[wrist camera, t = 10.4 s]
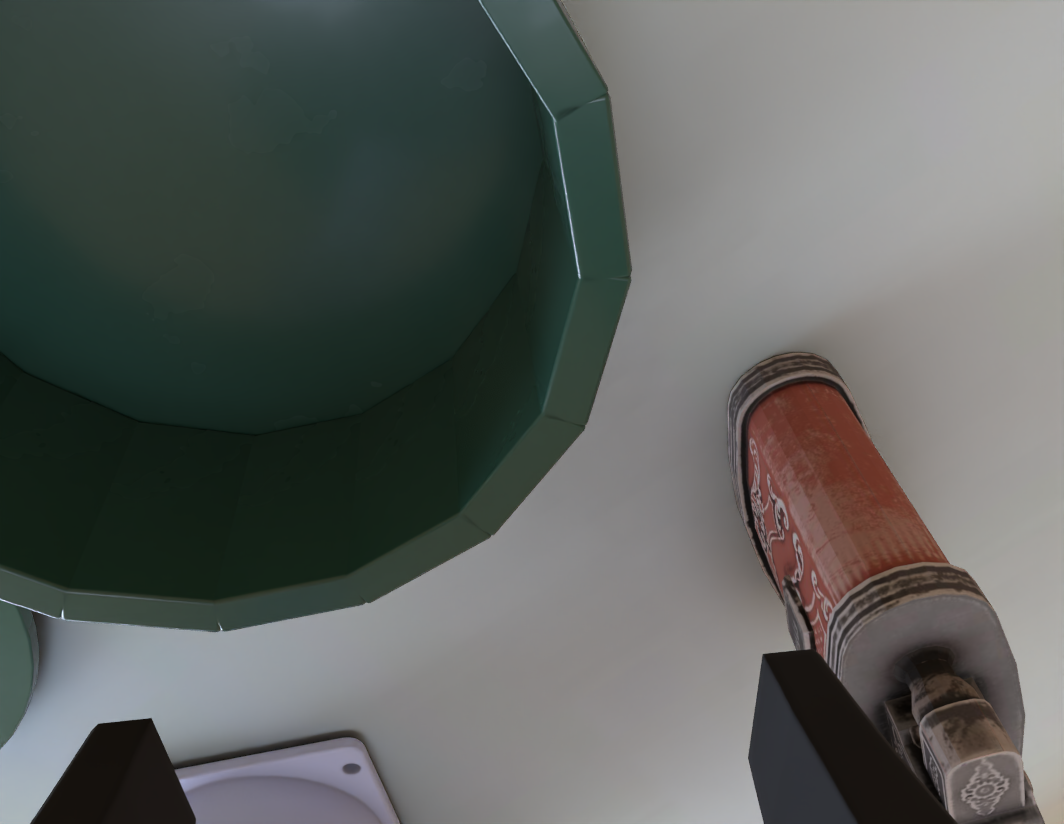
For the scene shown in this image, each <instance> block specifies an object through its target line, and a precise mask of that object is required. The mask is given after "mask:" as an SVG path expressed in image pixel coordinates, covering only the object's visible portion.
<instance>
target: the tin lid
mask: <svg viewBox="0 0 1064 824" xmlns="http://www.w3.org/2000/svg"><path fill="white" fill-rule="evenodd" d="M39 655H40V653H39V645H38V637H37V629H36V624H35V621H34V618H33V615H32V612H31V610H29V609H26V608H23V607H20V606H17V605H14V604H11V603H8V602H5V601H2V600H0V749H1V748H2V747H3V746H4V745H5V744H6V742H7V741H8V740H9V739H10V738H11V737H12V736H13V734H14V733H15V731H16V729H17V727H18V726H19V724H20V722H21V720H22V719H23V717H24V715H25V713H26V711H27V708H28V706H29V703H30V701H31V698H32V694H33V691H34V688H35V685H36V682H37V678H38V666H39Z"/></svg>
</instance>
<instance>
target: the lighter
mask: <svg viewBox="0 0 1064 824" xmlns="http://www.w3.org/2000/svg"><path fill="white" fill-rule="evenodd" d="M728 455H729V463H730V468H731V474H732V480H733V485H734V491H735V497H736V502H737V506H738V509H739V512H740V514H741V517H742V519H743V522H744V525H745V527H746V530H747V532H748V535H749V537H750V540H751V543H752V545H753V548H754V550H755V553H756V555H757V558H758V560H759V562H760V565H761V567H762V570H763V572H764V573H765V575H766V577H767V578H768V580H769V582H770V583H771V585H772V587H773V588H774V590H775V592H776V593H777V595H778V597H779V598H780V600H781V602H782V603H783V605H784V606H785V608H786V615H787V622H788V629H789V632H790V635H791V638H792V640H793V643H794V645H795V648H796V651H797V650H807V649H814V650H815V651H816V652H818V653H819V654H820V655H821V656H822V657H823V659H824V660H825V661H826V663H827V664H828V665H829V667H830V668H831V669H832V671H833V672H834V673H835V675H836V676H837V677H838V679H839V680H840V681H841V683H842V684H843V685H844V687H845V688H846V689H847V691H848V692H849V693H850V694H851V696H852V697H853V698H854V700H855V701H856V702H857V704H858V705H859V706H860V707H861V709H862V710H863V711H864V712H865V714H866V715H867V716H868V718H869V719H870V720H871V721H872V723H873V724H874V725H875V726H876V728H877V729H878V730H879V731H880V732H881V734H882V735H883V736H884V737H885V739H886V740H887V741H888V742H889V744H890V745H891V746H892V747H893V749H894V750H895V751H896V752H897V753H898V755H899V756H900V757H901V758H902V759H903V761H904V762H905V763H906V764H907V765H908V767H909V768H910V769H911V770H912V771H913V772H914V774H915V775H916V776H917V777H918V778H919V779H920V781H921V782H922V783H923V784H924V785H925V786H926V787H927V789H928V790H929V791H930V792H931V793H932V794H933V795H934V797H935V798H936V799H937V800H938V801H939V802H940V803H941V805H942V806H943V807H944V808H945V809H946V810H947V811H948V813H949V814H950V815H951V816H952V817H953V818H954V819H955V821H956V822H957V823H958V824H1045V823H1044V820H1043V818H1042V815H1041V813H1040V811H1039V809H1038V806H1037V804H1036V801H1035V798H1034V795H1033V788H1032V785H1031V782H1030V780H1029V778H1028V776H1027V774H1026V772H1025V771H1024V769H1023V761H1022V748H1023V735H1024V723H1025V712H1024V706H1023V700H1022V694H1021V688H1020V682H1019V676H1018V670H1017V664H1016V662H1015V659H1014V657H1013V654H1012V651H1011V649H1010V646H1009V644H1008V641H1007V639H1006V636H1005V634H1004V631H1003V629H1002V626H1001V624H1000V621H999V619H998V616H997V614H996V612H995V611H994V609H993V608H992V606H991V604H990V603H989V601H988V600H987V598H986V597H985V595H984V594H983V592H982V591H981V589H980V588H979V586H978V585H977V583H976V582H975V580H974V579H973V578H972V577H971V576H970V575H969V574H968V572H967V571H966V570H964V569H962V568H959V567H956V566H954V565H951V564H950V563H949V562H948V560H947V559H946V557H945V556H944V554H943V552H942V551H941V549H940V548H939V546H938V545H937V543H936V541H935V540H934V538H933V537H932V535H931V534H930V532H929V531H928V529H927V527H926V526H925V524H924V523H923V521H922V520H921V518H920V516H919V515H918V513H917V512H916V510H915V509H914V507H913V506H912V504H911V502H910V501H909V499H908V498H907V496H906V495H905V493H904V492H903V490H902V488H901V487H900V485H899V484H898V482H897V481H896V479H895V477H894V476H893V474H892V473H891V471H890V470H889V468H888V467H887V465H886V463H885V462H884V460H883V459H882V457H881V456H880V454H879V452H878V451H877V449H876V448H875V446H874V445H873V443H872V440H871V437H870V434H869V432H868V430H867V428H866V425H865V423H864V421H863V419H862V416H861V414H860V412H859V410H858V407H857V405H856V403H855V401H854V398H853V396H852V394H851V392H850V390H849V389H848V387H847V386H846V384H845V382H844V381H843V379H842V378H841V376H840V375H839V373H838V372H837V370H836V369H835V368H834V367H833V366H832V364H831V363H830V362H829V361H828V360H826V359H824V358H822V357H819V356H817V355H815V354H809V353H790V354H785V355H780V356H775V357H773V358H770V359H768V360H766V361H764V362H762V363H760V364H757V365H756V366H754V367H753V368H752V369H751V370H749V371H748V372H747V373H746V374H744V375H743V376H742V377H741V378H740V379H739V381H738V382H737V384H736V385H735V386H734V388H733V389H732V391H731V393H730V397H729V402H728Z"/></svg>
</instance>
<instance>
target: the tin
mask: <svg viewBox="0 0 1064 824" xmlns="http://www.w3.org/2000/svg"><path fill="white" fill-rule="evenodd" d="M631 272H632V266H631V258H630V250H629V242H628V234H627V226H626V218H625V210H624V202H623V194H622V186H621V178H620V171H619V163H618V155H617V147H616V139H615V131H614V123H613V115H612V107H611V99H610V96H609V94H608V87H607V85H606V83H605V81H604V80H603V78H602V76H601V74H600V72H599V70H598V68H597V67H596V65H595V63H594V61H593V59H592V57H591V55H590V54H589V52H588V50H587V48H586V46H585V44H584V42H583V41H582V39H581V37H580V35H579V33H578V31H577V29H576V28H575V26H574V24H573V22H572V20H571V18H570V16H569V15H568V13H567V11H566V9H565V7H564V5H563V3H562V2H561V0H0V600H2V601H5V602H8V603H11V604H14V605H17V606H20V607H23V608H26V609H29V610H32V611H35V612H37V613H40V614H43V615H46V616H49V617H52V618H56V619H59V618H60V617H61V618H62V619H63V620H65V621H78V622H91V623H104V624H117V625H130V626H143V627H156V628H169V629H182V630H195V631H208V632H218V631H220V629H221V630H222V631H231V630H236V629H241V628H246V627H251V626H257V625H262V624H267V623H272V622H277V621H282V620H287V619H293V618H298V617H303V616H308V615H313V614H318V613H324V612H329V611H334V610H339V609H344V608H349V607H355V606H360V605H363V604H365V603H371V602H373V601H375V600H377V599H378V598H380V597H382V596H384V595H386V594H388V593H389V592H391V591H393V590H395V589H397V588H399V587H400V586H402V585H404V584H406V583H408V582H410V581H411V580H413V579H415V578H417V577H419V576H421V575H422V574H424V573H426V572H428V571H430V570H432V569H433V568H435V567H437V566H439V565H441V564H443V563H444V562H446V561H448V560H450V559H452V558H454V557H455V556H457V555H459V554H461V553H463V552H465V551H466V550H468V549H470V548H472V547H474V546H476V545H477V544H479V543H481V542H483V541H485V540H487V539H488V538H490V537H491V535H494V534H495V533H496V532H497V531H498V530H499V529H500V527H501V526H502V525H503V524H504V523H505V522H506V520H507V519H508V518H509V517H510V516H511V515H512V513H513V512H514V511H515V510H516V509H517V508H518V506H519V505H520V504H521V503H522V502H523V501H524V499H525V498H526V497H527V496H528V495H529V494H530V492H531V491H532V490H533V489H534V488H535V487H536V485H537V484H538V483H539V482H540V481H541V480H542V478H543V477H544V476H545V475H546V474H547V473H548V471H549V470H550V469H551V468H552V467H553V466H554V464H555V463H556V462H557V461H558V460H559V459H560V457H561V456H562V455H563V454H564V453H565V452H566V450H567V449H568V448H569V447H570V446H571V445H572V443H573V442H574V441H575V440H576V439H577V438H578V437H579V435H580V434H581V433H582V432H583V431H584V429H585V425H586V424H587V422H588V420H589V416H590V413H591V410H592V407H593V403H594V400H595V397H596V394H597V390H598V387H599V384H600V381H601V377H602V374H603V371H604V368H605V364H606V361H607V358H608V355H609V351H610V348H611V345H612V342H613V338H614V335H615V332H616V329H617V325H618V322H619V319H620V316H621V312H622V309H623V306H624V303H625V299H626V296H627V293H628V290H629V286H630V283H631V276H630V275H631Z"/></svg>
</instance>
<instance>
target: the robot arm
mask: <svg viewBox="0 0 1064 824" xmlns="http://www.w3.org/2000/svg"><path fill="white" fill-rule="evenodd" d="M748 759H749V763H750V768H751V772H752V776H753V780H754V785H755V789H756V793H757V797H758V801H759V806H760V809H761V813H762V817H763V821H764V824H958V823H957V822H956V821H955V819H954V818H953V817H952V816H951V815H950V814H949V813H948V811H947V810H946V809H945V808H944V807H943V806H942V805H941V803H940V802H939V801H938V800H937V799H936V798H935V797H934V795H933V794H932V793H931V792H930V791H929V790H928V789H927V787H926V786H925V785H924V784H923V783H922V782H921V781H920V779H919V778H918V777H917V776H916V775H915V774H914V772H913V771H912V770H911V769H910V768H909V767H908V765H907V764H906V763H905V762H904V761H903V759H902V758H901V757H900V756H899V755H898V753H897V752H896V751H895V750H894V749H893V747H892V746H891V745H890V744H889V742H888V741H887V740H886V739H885V737H884V736H883V735H882V734H881V732H880V731H879V730H878V729H877V728H876V726H875V725H874V724H873V723H872V721H871V720H870V719H869V718H868V716H867V715H866V714H865V712H864V711H863V710H862V709H861V707H860V706H859V705H858V704H857V702H856V701H855V700H854V698H853V697H852V696H851V694H850V693H849V692H848V691H847V689H846V688H845V687H844V685H843V684H842V683H841V681H840V680H839V679H838V677H837V676H836V675H835V673H834V672H833V671H832V669H831V668H830V667H829V665H828V664H827V663H826V661H825V660H824V659H823V657H822V656H821V655H820V654H819V653H818V652H816V651H815V650H814V649H807V650H797V651H788V652H778V653H769V654H763V656H762V664H761V671H760V678H759V685H758V692H757V699H756V706H755V713H754V720H753V727H752V734H751V741H750V749H749V756H748ZM30 824H400V822H399V819H398V817H397V815H396V813H395V811H394V809H393V806H392V804H391V802H390V800H389V798H388V796H387V793H386V791H385V789H384V787H383V785H382V783H381V780H380V778H379V776H378V774H377V772H376V770H375V767H374V765H373V763H372V761H371V759H370V757H369V754H368V752H367V750H366V748H365V746H364V744H363V743H362V742H361V741H360V740H358V739H356V738H351V737H344V738H338V739H333V740H327V741H322V742H317V743H312V744H307V745H301V746H296V747H291V748H286V749H280V750H275V751H270V752H265V753H259V754H254V755H249V756H244V757H238V758H233V759H228V760H223V761H217V762H212V763H207V764H202V765H196V766H191V767H186V768H181V769H175V770H174V768H173V766H172V763H171V761H170V759H169V757H168V754H167V752H166V750H165V748H164V745H163V743H162V741H161V739H160V736H159V734H158V732H157V730H156V728H155V725H154V723H153V721H152V719H151V718H149V719H140V720H130V721H121V722H111V723H102V724H98V725H97V726H96V727H95V728H94V729H93V730H92V731H91V732H90V734H89V735H88V737H87V738H86V740H85V742H84V743H83V745H82V746H81V748H80V749H79V751H78V752H77V754H76V755H75V757H74V758H73V760H72V761H71V763H70V764H69V766H68V767H67V769H66V771H65V772H64V774H63V775H62V777H61V778H60V780H59V781H58V783H57V784H56V786H55V787H54V789H53V790H52V792H51V793H50V795H49V796H48V798H47V799H46V801H45V802H44V804H43V805H42V807H41V808H40V810H39V811H38V813H37V814H36V816H35V817H34V819H33V820H32V822H31V823H30Z"/></svg>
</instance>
